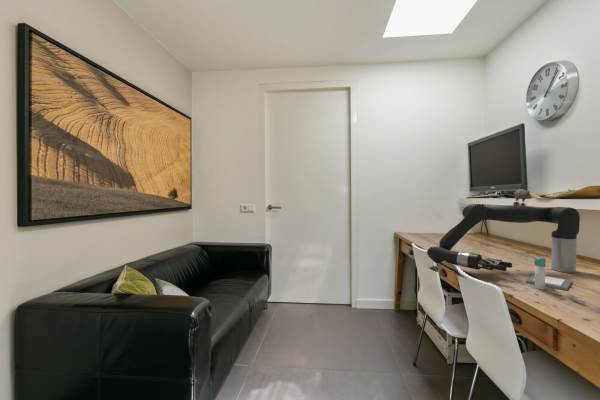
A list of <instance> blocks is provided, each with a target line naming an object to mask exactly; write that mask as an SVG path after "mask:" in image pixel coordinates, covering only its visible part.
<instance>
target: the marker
mask: <svg viewBox="0 0 600 400" xmlns="http://www.w3.org/2000/svg"><path fill="white" fill-rule="evenodd" d="M533 259H534V274H535V284H534V289H537V290H539V291H540V290H541V291H546V286H545V276H546V266H547V264H546V261H547V259H546V258H545V257H537V256H535V257H534V258H533Z"/></svg>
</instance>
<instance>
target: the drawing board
mask: <svg viewBox="0 0 600 400" xmlns="http://www.w3.org/2000/svg"><path fill="white" fill-rule="evenodd" d="M525 283H527V284H531V285H535V273H533V274H532V275H531V276H529V277H528V278H527V279H525ZM572 284H573V280H572V279H569V278H568V279H567V278H562V277H556V276H551V275H545V288H546V287H547V288H552V289H557V290H562V291H568V289H569V288H570V287H571V285H572Z"/></svg>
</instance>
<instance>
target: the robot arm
mask: <svg viewBox="0 0 600 400" xmlns="http://www.w3.org/2000/svg"><path fill="white" fill-rule="evenodd" d="M462 216H463V219H462V220H461V221H460V222H458V223H457V224H456V225H454V227H452V228H451V229H449V230H448V231H447V232H446V233H445V234H444V235H443V236H442V237H441V239H440V240H439V241H438V242H439V246H430V247H429V248H428V249H427V250H426V255H427V257H428V258H430V259H431V261H432V262H434V263H435V264H441V263H442V262H447V263H448V264H450V265H455V266H459V267H463V268H467V269H472V270H473V269H474V270H481V269H483V270H488V271H496V270H497V271H501V272H502V271H503V272H506V271H507V268H509V269H510V268H513V263H512V262H509V261H502V259H499V258H498V259H497V258H489V257H487V258H485V259H484V258H483V257H482V255H481V254H480V253H479V254H478V253H473V252H468V251H467V252H465V251H458V250H457V251H455V250H452V249H453V248H454V247H455V246H456V245H457V244H458V242H460V240H461V239H462V238H463V237H464V236H465V235H466V234H467V233H469V231H470V230H472V229H473V228H474V227H475V226H477V224H478V225H479V223H481V222H482V221H494V222H495V221H496V222H504V223H514V224H515V223H516V224H524V223H525V224H528V223H532V222H533V223H535V222H541V223H543V222H544V223H552V224H555V225H557V228H556V229H555V230H553V231H552V232H551V259H550V260H551V261H550V262H551V265H550V266H551V268H550V269H551V270H553V271H556V272H561V273H568V274H569V273H570V274H575V273H577V236H578V234H579V233H580V221H581V217H580V213H579V211H578V210H577V209H576V208H573V207H569V206H568V207H567V206H566V207H565V206H554V207H534V206H527V205H498V206H485V205H483V204H480V203H474V204H468V205H466V206H465V207H464V208H463V209H462Z"/></svg>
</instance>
